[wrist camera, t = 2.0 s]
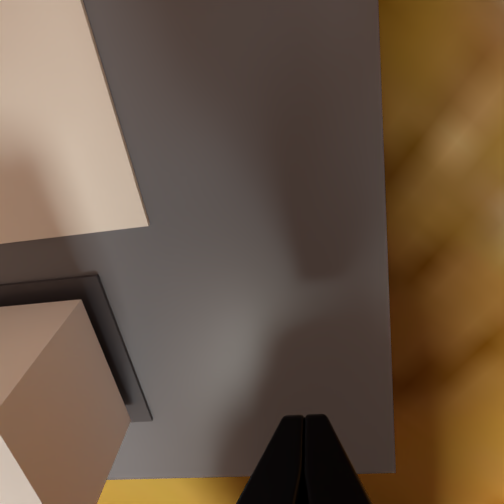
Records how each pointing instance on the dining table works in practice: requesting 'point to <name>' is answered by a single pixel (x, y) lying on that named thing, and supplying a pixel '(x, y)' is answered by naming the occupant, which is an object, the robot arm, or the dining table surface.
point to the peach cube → (55, 406)
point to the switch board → (206, 215)
